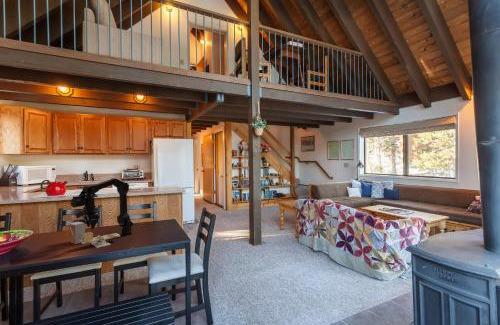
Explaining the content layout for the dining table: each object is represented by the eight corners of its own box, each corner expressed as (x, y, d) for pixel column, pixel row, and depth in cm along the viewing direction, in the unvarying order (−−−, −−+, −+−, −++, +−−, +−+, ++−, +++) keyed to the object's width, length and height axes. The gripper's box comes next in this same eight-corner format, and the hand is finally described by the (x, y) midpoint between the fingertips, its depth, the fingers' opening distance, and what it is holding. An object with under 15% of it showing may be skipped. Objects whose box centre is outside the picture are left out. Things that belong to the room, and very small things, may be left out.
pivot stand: (104, 240, 175) (104, 233, 175) (110, 244, 166) (110, 237, 166) (91, 243, 169) (91, 236, 169) (96, 247, 161) (96, 240, 161)
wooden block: (90, 238, 166) (90, 231, 166) (93, 240, 162) (92, 233, 162) (81, 240, 162) (81, 233, 162) (84, 242, 159) (83, 235, 159)
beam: (116, 234, 178) (116, 233, 178) (120, 236, 173) (120, 234, 173) (80, 241, 162) (80, 240, 162) (82, 244, 157) (82, 242, 157)
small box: (69, 242, 172) (68, 223, 172) (79, 239, 178) (78, 221, 178) (75, 244, 168) (75, 225, 168) (85, 241, 174) (85, 222, 174)
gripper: (71, 204, 165) (72, 228, 166) (78, 208, 153) (79, 233, 153) (90, 202, 173) (91, 224, 174) (99, 205, 161) (100, 229, 161)
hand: (90, 228), depth 165 cm, fingers open, 9 cm apart
